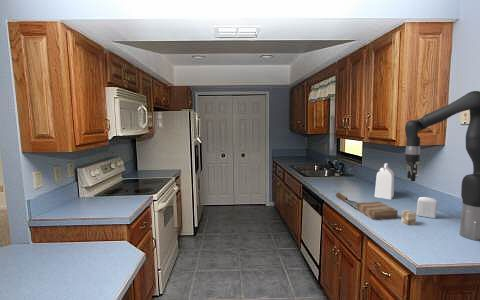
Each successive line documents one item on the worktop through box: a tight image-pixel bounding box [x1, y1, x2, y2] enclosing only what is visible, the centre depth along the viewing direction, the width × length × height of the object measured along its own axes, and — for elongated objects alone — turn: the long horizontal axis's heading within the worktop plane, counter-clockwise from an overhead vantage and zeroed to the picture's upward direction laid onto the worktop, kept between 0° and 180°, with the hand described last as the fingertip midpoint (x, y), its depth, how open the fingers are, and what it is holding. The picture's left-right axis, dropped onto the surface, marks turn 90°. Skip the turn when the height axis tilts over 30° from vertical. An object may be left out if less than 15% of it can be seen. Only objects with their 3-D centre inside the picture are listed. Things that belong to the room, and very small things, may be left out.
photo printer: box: [415, 196, 438, 219], centre depth 173 cm, size 10×4×12 cm, turn 60°
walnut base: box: [356, 201, 399, 221], centre depth 178 cm, size 18×16×5 cm
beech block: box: [400, 209, 417, 226], centre depth 163 cm, size 5×5×7 cm
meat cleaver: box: [335, 192, 358, 210], centre depth 202 cm, size 34×11×4 cm, turn 5°
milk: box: [374, 162, 395, 200], centre depth 216 cm, size 12×12×26 cm
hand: (411, 179), depth 169 cm, fingers open, 8 cm apart
